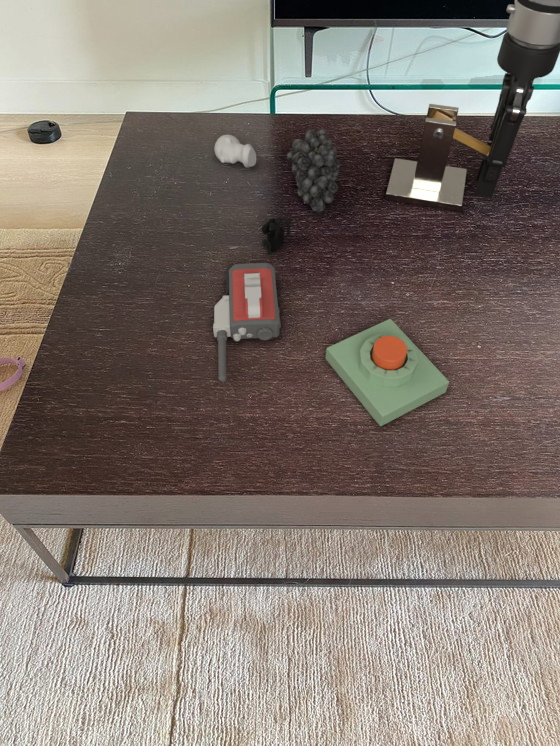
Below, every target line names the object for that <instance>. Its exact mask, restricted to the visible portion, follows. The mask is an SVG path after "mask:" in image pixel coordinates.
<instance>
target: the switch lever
mask: <svg viewBox="0 0 560 746" xmlns="http://www.w3.org/2000/svg"><path fill="white" fill-rule="evenodd" d="M433 119H440V120H447V121H453V119H451V118H449V117H448V116H446V115H444V114H442V113H440V112H438V111H436V113H435V114H434V116H433ZM454 139H455V140H456V141H458V142H460V143H462V144H464V145H466V146H467V147H470V148H472V149H473V150H475V151H477V152H479V153H480V154H483V155H484V154H485V155H486V156H488V154H489V151H490V148H491V147H490V146H489V145H487V143H485V142H483V141H481V140H479V139H477V138H475V137H474V136H471V135H470V134H469V133H467V132H464V131H463V130H461V129H458V128H457V127H455V131H454V135H453V140H454Z"/></svg>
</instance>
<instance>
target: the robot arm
mask: <svg viewBox="0 0 560 746" xmlns="http://www.w3.org/2000/svg"><path fill="white" fill-rule="evenodd" d="M506 13H508V14H509V18H508V22H507V24H506V32H505V33H504V35H502V36H503V37H502V40H501V44H500V47H499V50H498V54H497V58H496V60H497V65H498V66H499V68H500V70H502V71H504V72H505V73H504V74H503V75H504V76H503V78H502V83H501V84H502V85H501V89H500V90H501V91H500V93H499V98H498V103H497V106H496V109H495V113H494V116H493V118H492V123H491V124H490V126H489V127H490V133H489V134H488V141H487V142H486V144H487V145H489V146H490V147H491V148H490V151H489V154H488V156H486V155H485V154H483V155H482V157H481V162H480V164H479V168H478V171H477V174H476V178H475V181H476V182H477V184H476V187H475V190H474V196H476V197H483V198H489V199H492V198H493V195H494V193H495V189H496V188H497V184H498V182H499V180H500V179H499V178H500V175H501V173H502V170H503V168H505V167H506V166H507V164H508V160H509V157H510V154H511V152H512V149H513V146H514V144H515V140H516V138H517V135H518V132H519V130H520V127H521V124H522V122H523V120H524V118H525V115H527V105H528V102H529V101H530V100H531V99H532V96H533V93H534V89H535V86H534V85H533V83H534V81H535V80H536V79H540V78H544V77H546V76H548V75H550V74H552V72H553V70H554V69H555V67H556V64H557V61H558V58H559V56H560V0H514V4H510V3H509V4H508V5H507V7H506Z"/></svg>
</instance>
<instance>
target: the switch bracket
mask: <svg viewBox="0 0 560 746" xmlns="http://www.w3.org/2000/svg"><path fill="white" fill-rule="evenodd" d="M459 110H460V109H459V107H456V106H449V105H442V104H436V103H429V104H428V109H427V114H426V119H425V121H424V127H423V132H422V136H421V141H420V147H419V151H418V155H417V161H416V160H411V159H410V160H409V159H403V158H394V160H393V164H392V169H391V173H390V177H389V180H388V185H387V189H386V193H385V198H384V200H385V201H391V202H398V203H403V204H409V205H416V206H417V205H418V206H422V207H429V208H435V209H441V210H448V211H453V212H460V213H461V211H462V207H463V202H464V193H465V186H466V179H467V172H468V171H467V170H468V169H467V168H463V167H456V166H451V165H450V166H449V165H448V166H447V164H448V159H449V155H450V153H451V152H450V151H451V147H452V144H453V140H454V138H453V135H454V131H455V128H457V118H458V113H459ZM436 111H438V112H440V113H442V114H444V115H446V116H448V117H449V118H451V119H453V121H447V120H440V119H433V116H434V114H435V113H436Z"/></svg>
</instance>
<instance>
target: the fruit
mask: <svg viewBox="0 0 560 746" xmlns="http://www.w3.org/2000/svg"><path fill="white" fill-rule="evenodd" d="M304 134H305V135H304V139H301V138H295V139H294V140H292V143H291V147H292V149H293V150H290V151H288V152H287V153H286V159H287V161H289V162H290V163H292V164H291V165H292V166H291V173H292V174H293V176H295V182H296V186H297V192H296V193H297V195H298V196H299V198H302V201H303V203H304V204H306V205H309V207H310V208H311V209H312V211H313V212H318V213H321V212H323V211H325V209H326V204H327V205H329V204H331V203H334V200H335V194H336V192H337V191H338V190H339V185H338V183H337V182H336V181H337V180H338V179H339V177H340V175H339V174H340V167H341V161H340V160H339V159H338V151H337V149H336V147H333V141H332V139H331V138H330V137H328V133H327V131H326V130H325V129H324V128H319V129H317V130H316V131H315V129H312V128H311V129H307V130H306V132H305V133H304ZM312 149H314V150H312Z"/></svg>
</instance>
